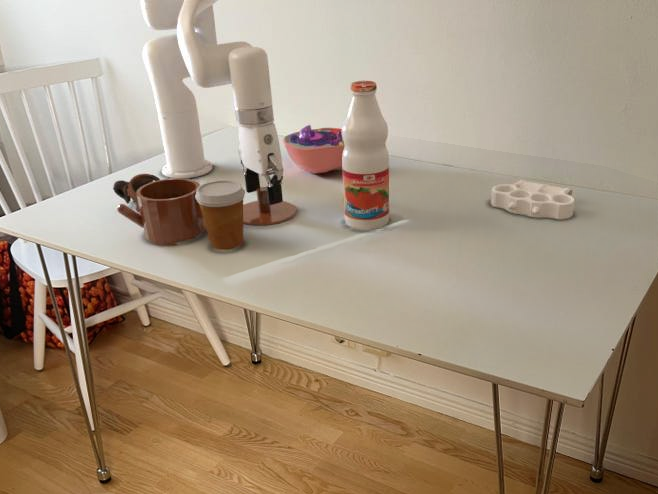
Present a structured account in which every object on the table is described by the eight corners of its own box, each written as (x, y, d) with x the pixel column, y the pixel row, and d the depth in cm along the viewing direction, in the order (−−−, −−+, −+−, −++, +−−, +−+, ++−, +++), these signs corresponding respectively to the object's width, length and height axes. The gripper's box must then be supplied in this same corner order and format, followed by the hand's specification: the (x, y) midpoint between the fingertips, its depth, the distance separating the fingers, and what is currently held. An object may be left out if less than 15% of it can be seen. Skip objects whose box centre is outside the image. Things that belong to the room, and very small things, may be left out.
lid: (223, 214, 155) (220, 187, 152) (276, 199, 161) (274, 173, 158) (252, 233, 146) (249, 205, 142) (307, 217, 152) (305, 190, 148)
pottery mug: (170, 197, 166) (170, 173, 158) (162, 229, 161) (161, 205, 154) (118, 187, 164) (115, 162, 157) (108, 218, 159) (105, 194, 152)
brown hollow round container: (136, 231, 149) (127, 187, 144) (191, 216, 155) (184, 173, 149) (159, 251, 140) (150, 205, 135) (217, 234, 146) (210, 190, 141)
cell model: (365, 181, 169) (364, 133, 163) (282, 183, 170) (277, 136, 163) (365, 158, 183) (363, 114, 177) (288, 160, 184) (284, 116, 177)
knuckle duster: (585, 202, 153) (562, 226, 143) (508, 188, 162) (480, 210, 152) (588, 187, 151) (564, 210, 142) (509, 174, 160) (482, 195, 150)
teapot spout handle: (122, 232, 143) (115, 203, 140) (122, 228, 145) (115, 200, 142) (223, 219, 147) (219, 190, 144) (222, 215, 149) (218, 187, 146)
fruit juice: (387, 212, 152) (386, 76, 137) (391, 230, 145) (390, 88, 129) (344, 214, 152) (338, 78, 137) (345, 232, 145) (339, 90, 129)
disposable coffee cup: (212, 259, 136) (202, 200, 129) (197, 242, 143) (187, 185, 136) (258, 248, 139) (251, 190, 133) (241, 232, 147) (234, 175, 140)
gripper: (292, 119, 137) (300, 203, 146) (251, 104, 149) (260, 183, 158) (258, 126, 133) (268, 212, 143) (218, 110, 146) (230, 190, 155)
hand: (264, 197), depth 151 cm, fingers open, 9 cm apart
